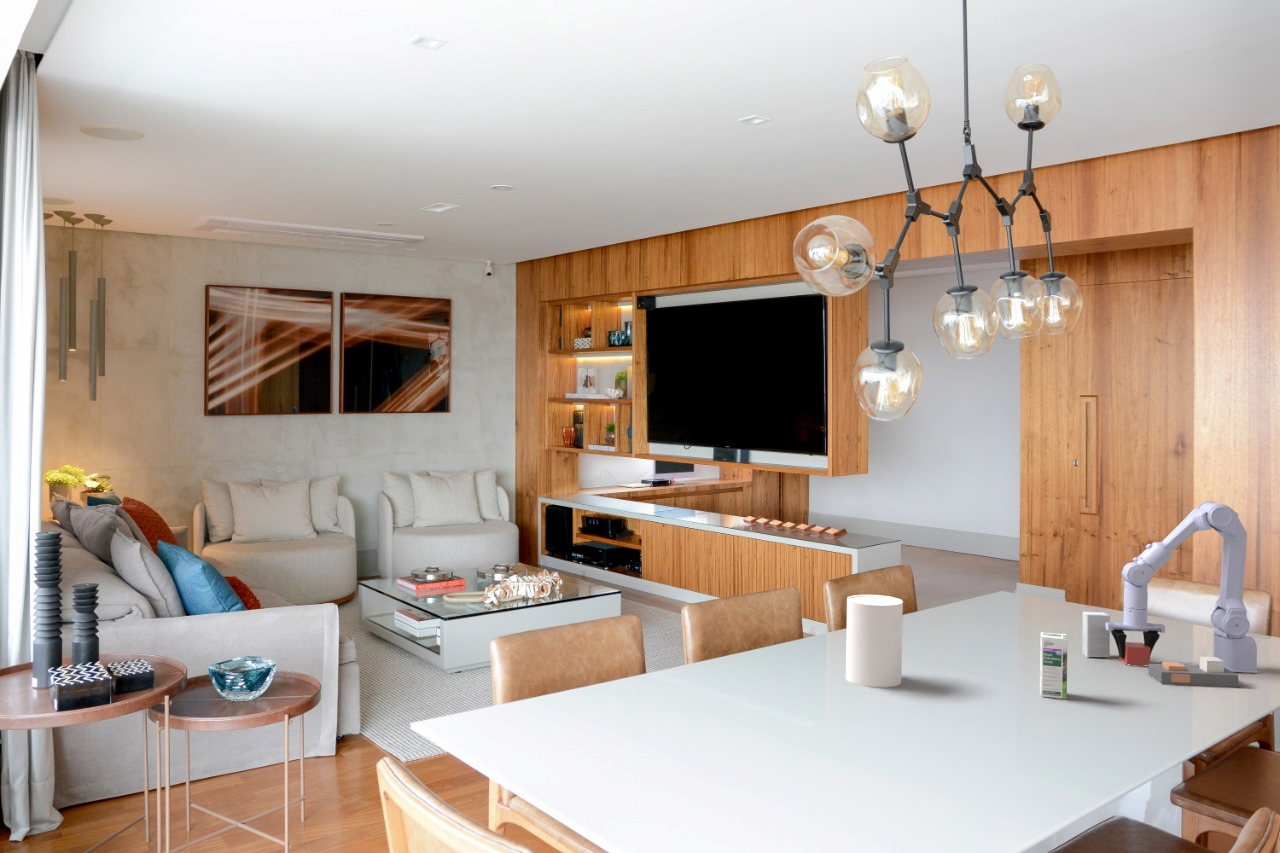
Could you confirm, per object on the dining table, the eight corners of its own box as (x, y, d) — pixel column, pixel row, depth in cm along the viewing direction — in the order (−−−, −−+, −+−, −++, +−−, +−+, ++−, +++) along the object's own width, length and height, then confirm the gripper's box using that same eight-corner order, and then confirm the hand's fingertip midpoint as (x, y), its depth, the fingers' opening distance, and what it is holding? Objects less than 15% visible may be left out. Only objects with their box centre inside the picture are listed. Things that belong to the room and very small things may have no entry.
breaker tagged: (1178, 676, 248) (1178, 662, 248) (1185, 680, 244) (1185, 666, 244) (1161, 675, 248) (1162, 661, 248) (1168, 679, 244) (1168, 665, 244)
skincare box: (1103, 654, 271) (1104, 611, 271) (1109, 658, 267) (1110, 615, 267) (1081, 654, 272) (1082, 611, 271) (1086, 658, 267) (1087, 614, 267)
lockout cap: (1141, 660, 265) (1141, 642, 265) (1149, 666, 259) (1150, 647, 259) (1118, 660, 266) (1119, 641, 266) (1127, 665, 260) (1127, 646, 260)
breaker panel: (1222, 678, 249) (1222, 666, 248) (1238, 687, 240) (1238, 675, 240) (1148, 675, 251) (1148, 663, 251) (1161, 684, 242) (1161, 672, 242)
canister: (858, 669, 253) (859, 592, 253) (909, 678, 245) (910, 599, 245) (837, 680, 242) (838, 600, 242) (889, 690, 234) (890, 607, 234)
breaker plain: (1216, 671, 247) (1216, 657, 247) (1223, 675, 243) (1224, 661, 243) (1199, 670, 247) (1199, 656, 247) (1206, 674, 243) (1207, 660, 243)
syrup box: (1040, 697, 230) (1041, 636, 230) (1039, 690, 236) (1040, 630, 236) (1066, 700, 228) (1068, 638, 228) (1065, 693, 234) (1066, 632, 234)
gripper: (1157, 605, 265) (1156, 655, 266) (1101, 603, 267) (1100, 653, 267) (1168, 611, 258) (1167, 662, 259) (1111, 609, 260) (1110, 659, 260)
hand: (1134, 658), depth 262 cm, fingers closed on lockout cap, 6 cm apart
